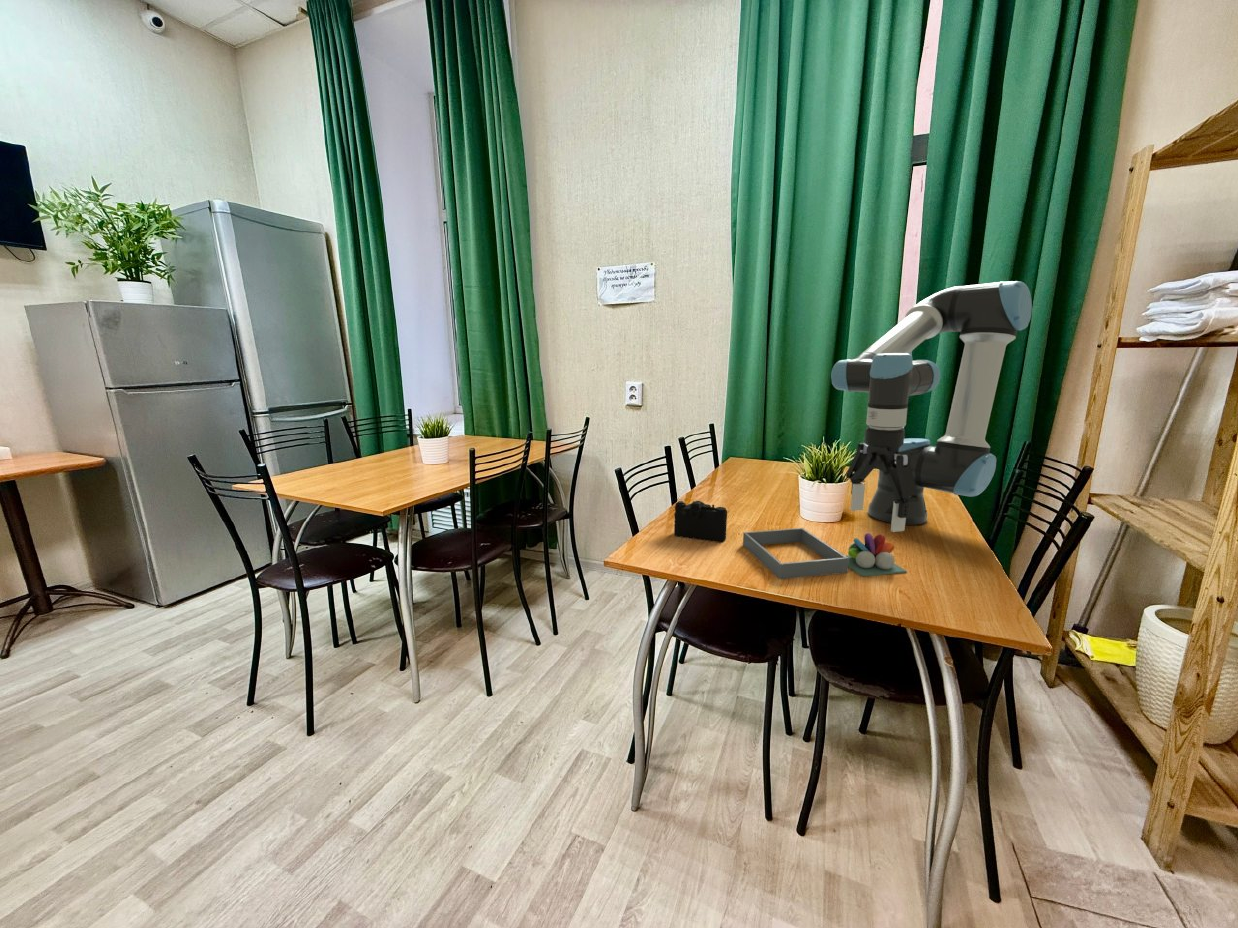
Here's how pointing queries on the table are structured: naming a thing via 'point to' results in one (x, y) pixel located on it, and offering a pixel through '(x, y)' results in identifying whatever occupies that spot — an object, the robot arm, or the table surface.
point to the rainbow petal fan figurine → (872, 552)
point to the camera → (700, 521)
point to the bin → (829, 565)
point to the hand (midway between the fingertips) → (875, 519)
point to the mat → (873, 569)
